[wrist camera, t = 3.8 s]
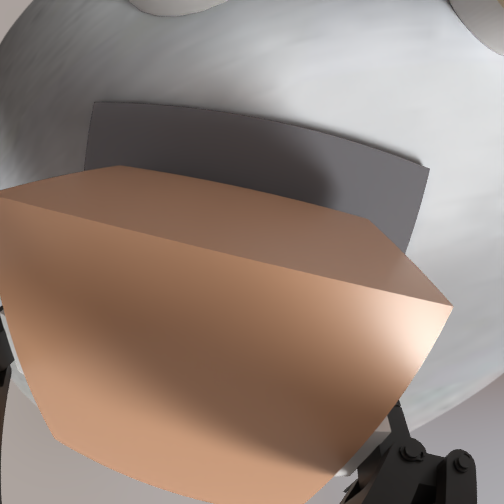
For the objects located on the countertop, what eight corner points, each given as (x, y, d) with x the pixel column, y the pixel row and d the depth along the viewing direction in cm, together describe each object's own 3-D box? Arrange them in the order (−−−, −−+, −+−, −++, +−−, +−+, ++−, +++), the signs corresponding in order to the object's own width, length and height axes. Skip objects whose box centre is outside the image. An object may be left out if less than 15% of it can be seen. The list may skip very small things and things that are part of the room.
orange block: (367, 219, 11) (453, 306, 4) (295, 403, 15) (290, 514, 8) (119, 165, 11) (-12, 193, 5) (117, 354, 15) (54, 438, 9)
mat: (424, 168, 12) (429, 168, 11) (322, 416, 18) (322, 422, 17) (100, 103, 13) (94, 102, 12) (94, 355, 18) (91, 359, 18)
